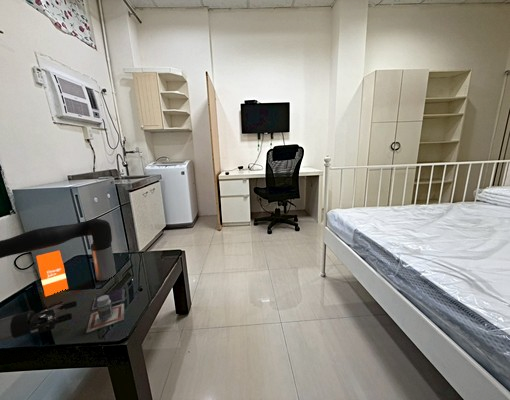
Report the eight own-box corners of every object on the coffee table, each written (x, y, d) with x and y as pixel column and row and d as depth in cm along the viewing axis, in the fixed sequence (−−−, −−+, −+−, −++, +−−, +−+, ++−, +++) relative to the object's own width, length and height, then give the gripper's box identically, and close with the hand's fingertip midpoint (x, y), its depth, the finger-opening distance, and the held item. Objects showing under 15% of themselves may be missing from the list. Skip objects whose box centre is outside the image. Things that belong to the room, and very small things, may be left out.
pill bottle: (104, 313, 91) (100, 294, 89) (115, 312, 91) (112, 293, 89) (96, 321, 86) (92, 302, 84) (108, 320, 86) (105, 301, 85)
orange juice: (44, 291, 110) (35, 254, 107) (66, 283, 117) (59, 248, 113) (45, 297, 105) (36, 258, 102) (68, 288, 111) (61, 252, 108)
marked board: (86, 333, 80) (86, 331, 80) (91, 314, 91) (90, 313, 91) (123, 320, 86) (123, 319, 86) (124, 304, 97) (124, 303, 96)
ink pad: (92, 310, 93) (91, 307, 93) (95, 298, 102) (94, 295, 102) (124, 300, 99) (123, 297, 99) (124, 290, 108) (124, 287, 107)
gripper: (1, 330, 68) (68, 310, 76) (20, 305, 80) (76, 291, 88) (7, 350, 69) (72, 329, 77) (25, 323, 81) (79, 307, 89)
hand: (74, 309), depth 83 cm, fingers open, 8 cm apart
